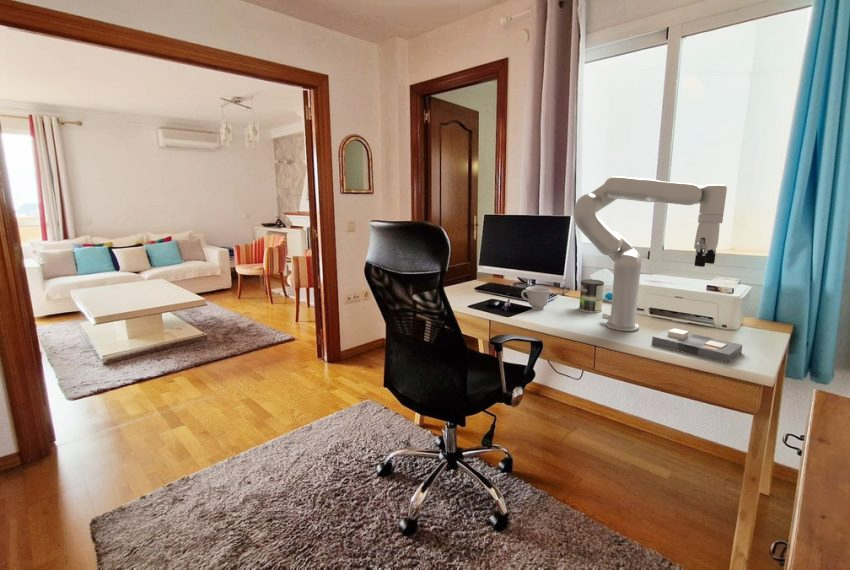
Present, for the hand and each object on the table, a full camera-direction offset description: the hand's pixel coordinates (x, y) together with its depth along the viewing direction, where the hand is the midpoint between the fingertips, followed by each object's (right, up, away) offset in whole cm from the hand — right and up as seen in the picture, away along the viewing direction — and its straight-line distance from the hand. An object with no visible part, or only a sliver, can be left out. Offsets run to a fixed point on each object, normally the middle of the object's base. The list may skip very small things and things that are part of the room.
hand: (704, 264), depth 158 cm
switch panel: (-8, -30, -7) cm, 32 cm away
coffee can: (-25, -20, +45) cm, 55 cm away
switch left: (-12, -27, -3) cm, 30 cm away
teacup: (-51, -20, +48) cm, 73 cm away
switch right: (-4, -31, -12) cm, 33 cm away
